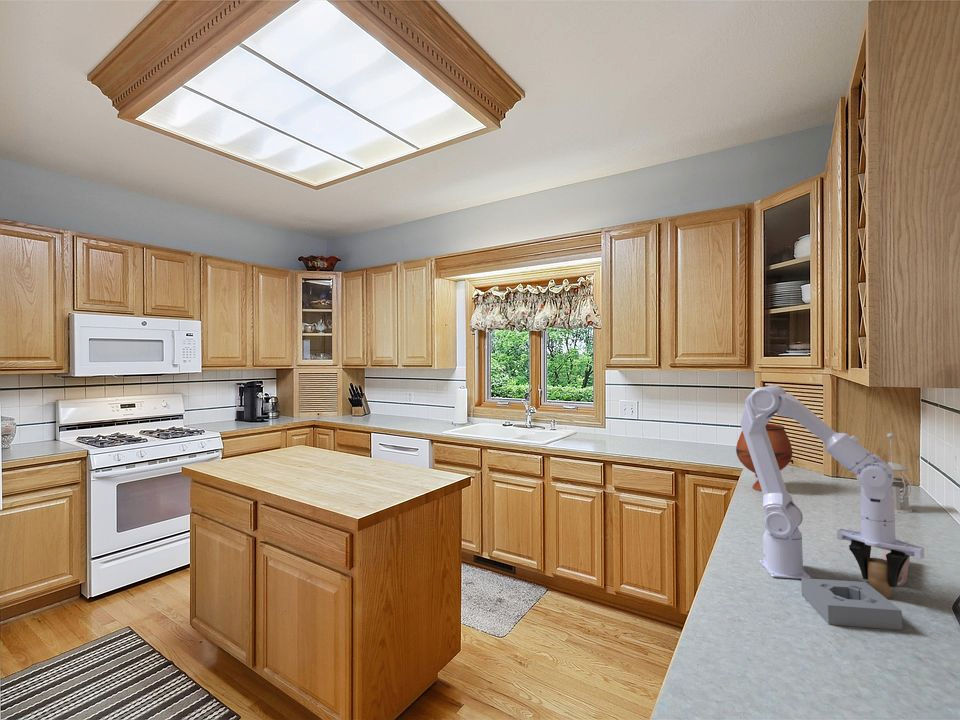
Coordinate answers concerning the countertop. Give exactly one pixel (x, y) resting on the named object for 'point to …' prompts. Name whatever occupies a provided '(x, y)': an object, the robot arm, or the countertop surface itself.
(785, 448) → the goblet
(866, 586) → the bore block
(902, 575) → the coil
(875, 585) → the walnut pin
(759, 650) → the countertop surface
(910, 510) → the french press
